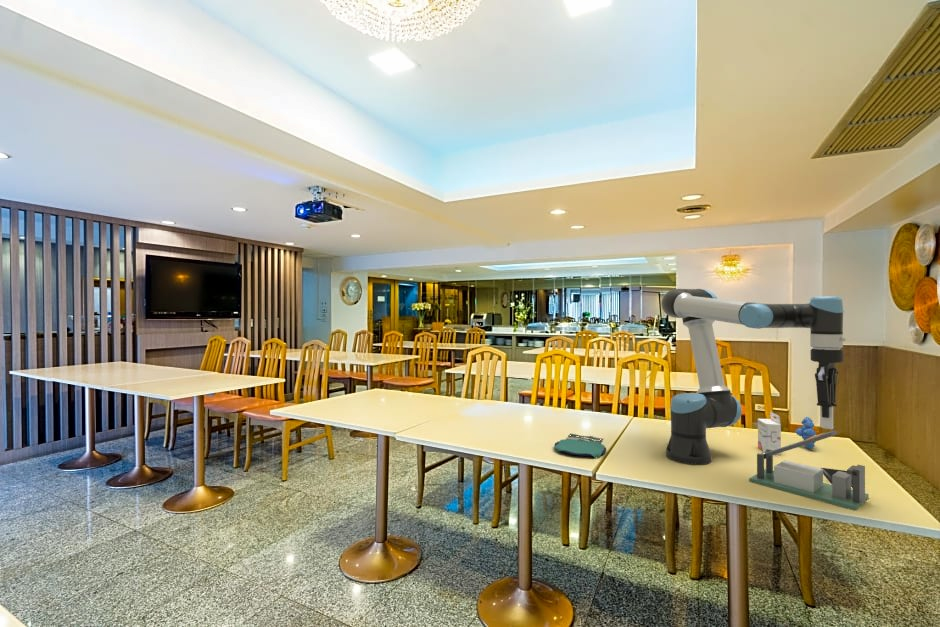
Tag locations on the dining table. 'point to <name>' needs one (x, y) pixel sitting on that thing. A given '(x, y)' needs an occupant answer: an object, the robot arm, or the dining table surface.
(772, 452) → the clamp bar
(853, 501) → the clamp fixture base
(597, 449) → the teal clutch purse
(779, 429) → the ink cartridge box
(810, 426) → the grapes
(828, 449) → the dining table surface
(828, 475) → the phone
